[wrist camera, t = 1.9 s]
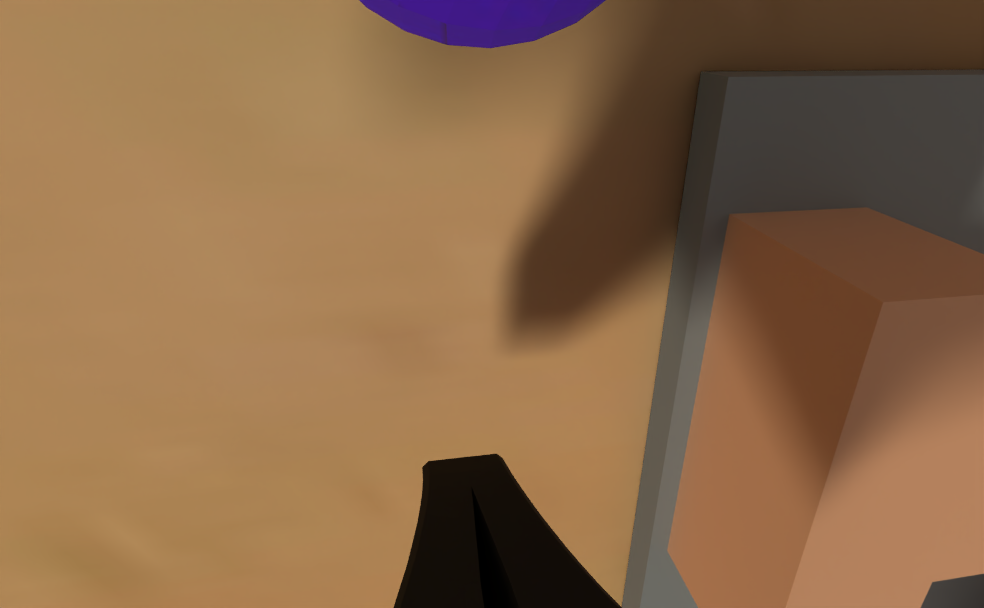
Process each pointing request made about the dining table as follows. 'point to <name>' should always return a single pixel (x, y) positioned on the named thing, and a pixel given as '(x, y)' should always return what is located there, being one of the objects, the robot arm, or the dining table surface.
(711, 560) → the t block
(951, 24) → the dining table surface
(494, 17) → the decorative model
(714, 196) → the board
